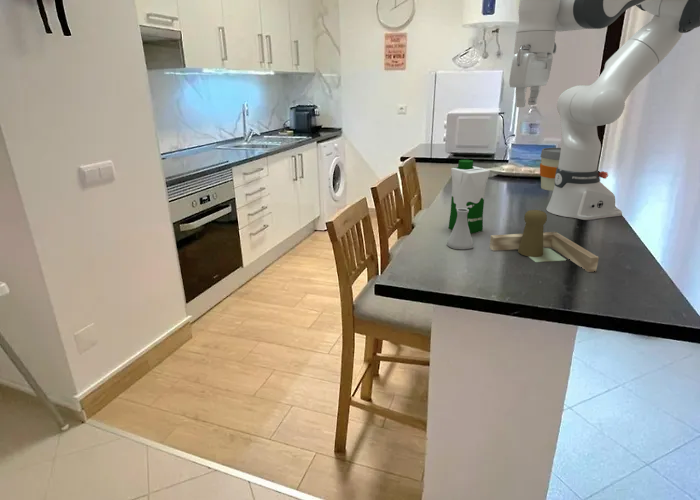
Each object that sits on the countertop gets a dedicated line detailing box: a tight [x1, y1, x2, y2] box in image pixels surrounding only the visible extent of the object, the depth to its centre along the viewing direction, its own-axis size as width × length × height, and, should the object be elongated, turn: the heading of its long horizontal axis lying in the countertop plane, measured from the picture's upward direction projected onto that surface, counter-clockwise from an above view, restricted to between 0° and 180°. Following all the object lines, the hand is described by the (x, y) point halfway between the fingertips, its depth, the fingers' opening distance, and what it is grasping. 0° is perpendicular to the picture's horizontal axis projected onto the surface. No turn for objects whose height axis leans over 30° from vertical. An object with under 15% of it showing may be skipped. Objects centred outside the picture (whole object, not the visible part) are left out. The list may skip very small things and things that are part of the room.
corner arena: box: [489, 231, 600, 273], centre depth 110 cm, size 18×18×4 cm
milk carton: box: [447, 159, 491, 235], centre depth 128 cm, size 9×9×20 cm
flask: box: [446, 208, 474, 250], centre depth 118 cm, size 7×7×10 cm
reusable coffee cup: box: [539, 147, 561, 192], centre depth 174 cm, size 12×13×15 cm
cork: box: [517, 209, 548, 258], centre depth 112 cm, size 6×6×11 cm
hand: (526, 106), depth 113 cm, fingers open, 8 cm apart
